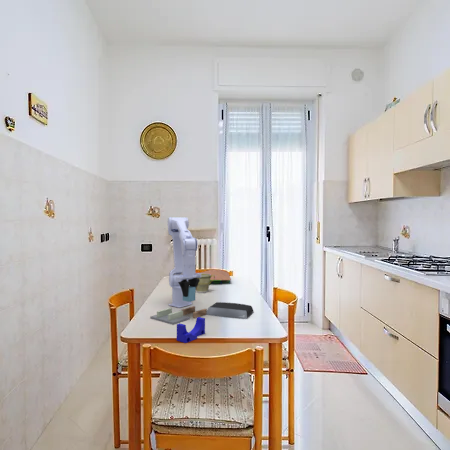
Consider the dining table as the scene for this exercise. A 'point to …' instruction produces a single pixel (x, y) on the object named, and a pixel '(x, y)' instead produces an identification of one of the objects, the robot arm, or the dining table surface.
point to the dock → (170, 316)
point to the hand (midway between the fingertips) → (188, 295)
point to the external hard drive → (230, 310)
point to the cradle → (195, 314)
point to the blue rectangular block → (190, 294)
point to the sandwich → (218, 275)
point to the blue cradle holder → (192, 335)
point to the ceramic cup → (204, 283)
